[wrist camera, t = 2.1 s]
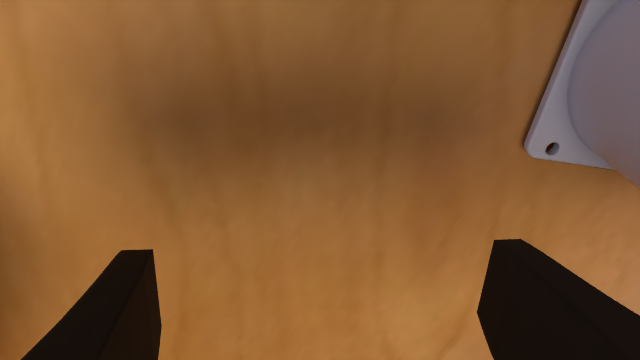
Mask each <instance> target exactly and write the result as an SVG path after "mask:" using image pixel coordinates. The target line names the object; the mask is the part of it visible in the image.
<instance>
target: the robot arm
mask: <svg viewBox="0 0 640 360" xmlns="http://www.w3.org/2000/svg"><path fill="white" fill-rule="evenodd" d="M551 143H554V146H553V147H552V148H551V149H550V150H547V151H546V148H547V146H548V145H549V144H551ZM524 149H525V151H526V152H527V153H528V154H529V155H530V156H531V157H533V158H536V159H543V160H550V161H557V162H564V163H571V164H577V165H584V166H591V167H598V168H605V169H612V170H616V171H618V172H619V173H620V174H621V175H622V176H624V177H625V178H626V179H627V180H629V181H630V182H631V183H632V184H633V185H635V186H636V187H637V188H638V189H640V0H582V2H581V5H580V7H579V10H578V12H577V15H576V17H575V20H574V22H573V25H572V27H571V29H570V32H569V34H568V37H567V39H566V42H565V44H564V47H563V49H562V51H561V54H560V56H559V59H558V61H557V64H556V66H555V69H554V71H553V74H552V76H551V78H550V81H549V83H548V86H547V88H546V91H545V93H544V96H543V98H542V100H541V103H540V105H539V108H538V110H537V113H536V115H535V118H534V120H533V123H532V125H531V127H530V130H529V132H528V135H527V137H526V140H525V143H524ZM477 314H478V317H479V320H480V323H481V326H482V329H483V332H484V335H485V338H486V341H487V343H488V346H489V349H490V352H491V354H492V356H493V358H494V360H640V316H639V315H638V314H636V313H634V312H633V311H631V310H629V309H628V308H626V307H624V306H623V305H621V304H620V303H618V302H617V301H615V300H613V299H612V298H610V297H609V296H607V295H606V294H604V293H603V292H601V291H599V290H598V289H596V288H595V287H593V286H592V285H590V284H589V283H587V282H586V281H584V280H583V279H581V278H580V277H578V276H577V275H575V274H574V273H573V272H571V271H570V270H568V269H567V268H565V267H564V266H562V265H561V264H559V263H558V262H556V261H555V260H553V259H552V258H550V257H549V256H547V255H546V254H544V253H543V252H541V251H540V250H538V249H537V248H535V247H533V246H532V245H530V244H529V243H527V242H525V241H523V240H522V239H507V240H494V243H493V247H492V251H491V255H490V259H489V264H488V268H487V272H486V276H485V280H484V285H483V289H482V293H481V297H480V301H479V306H478V310H477ZM161 327H162V326H161V317H160V308H159V300H158V291H157V282H156V273H155V264H154V255H153V249H151V250H121V251H120V252H119V253H118V254H117V255H116V256H115V258H114V259H113V260H112V261H111V262H110V264H109V265H108V266H107V267H106V268H105V270H104V271H103V272H102V273H101V275H100V276H99V277H98V278H97V279H96V281H95V282H94V283H93V284H92V285H91V286H90V288H89V289H88V290H87V291H86V292H85V293H84V295H83V296H82V297H81V298H80V299H79V300H78V301H77V302H76V303H75V305H74V306H73V307H72V308H71V309H70V310H69V311H68V312H67V313H66V315H65V316H64V317H63V318H62V319H61V320H60V321H59V322H58V323H57V324H56V325H55V326H54V327H53V328H52V329H51V330H50V331H49V332H48V333H47V334H46V335H45V336H44V337H43V338H42V339H41V340H40V341H39V342H38V343H37V344H36V345H35V346H34V347H33V348H32V349H31V350H30V351H29V352H28V353H27V354H26V355H25V356H24V357H23V358H22V359H21V360H158V355H159V346H160V336H161Z"/></svg>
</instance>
